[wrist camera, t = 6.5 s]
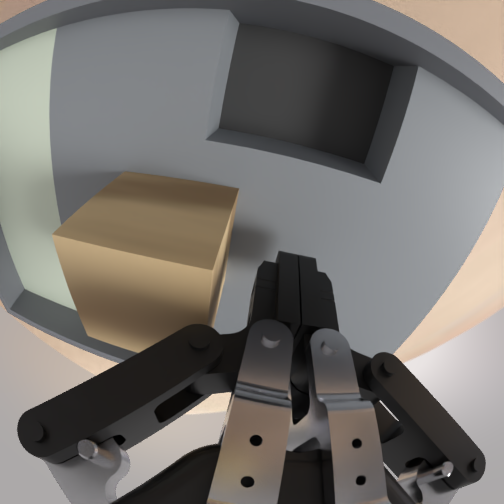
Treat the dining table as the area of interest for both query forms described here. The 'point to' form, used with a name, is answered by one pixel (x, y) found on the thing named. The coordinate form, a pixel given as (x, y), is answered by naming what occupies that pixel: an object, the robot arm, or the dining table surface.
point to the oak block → (147, 257)
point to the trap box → (252, 146)
